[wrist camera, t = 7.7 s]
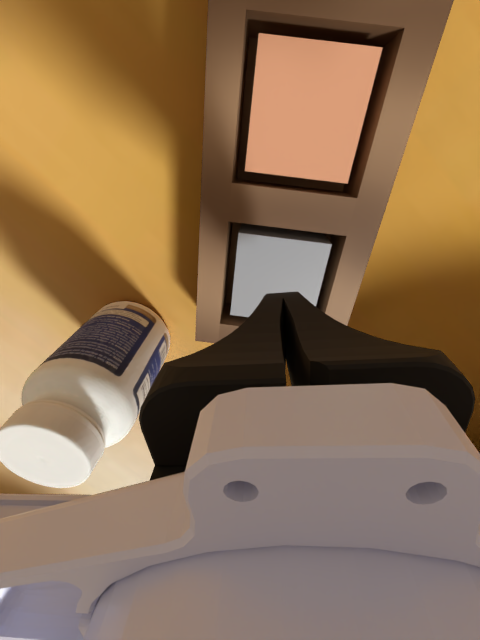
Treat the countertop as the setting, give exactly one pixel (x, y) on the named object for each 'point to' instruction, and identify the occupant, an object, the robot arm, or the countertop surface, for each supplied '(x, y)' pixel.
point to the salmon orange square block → (308, 106)
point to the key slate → (277, 265)
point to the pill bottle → (85, 396)
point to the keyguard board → (299, 193)
